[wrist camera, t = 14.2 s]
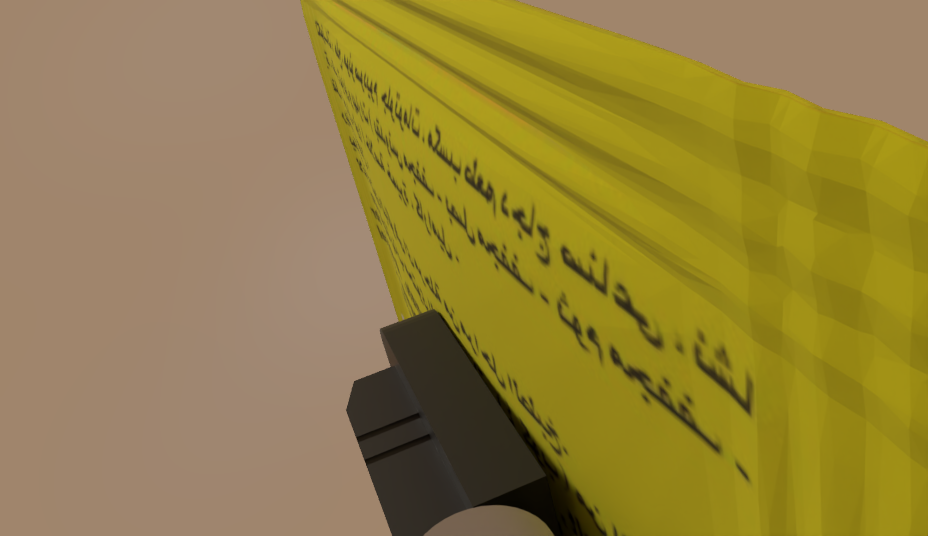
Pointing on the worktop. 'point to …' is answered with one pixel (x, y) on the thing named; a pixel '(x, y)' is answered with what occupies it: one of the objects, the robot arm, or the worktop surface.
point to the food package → (649, 265)
